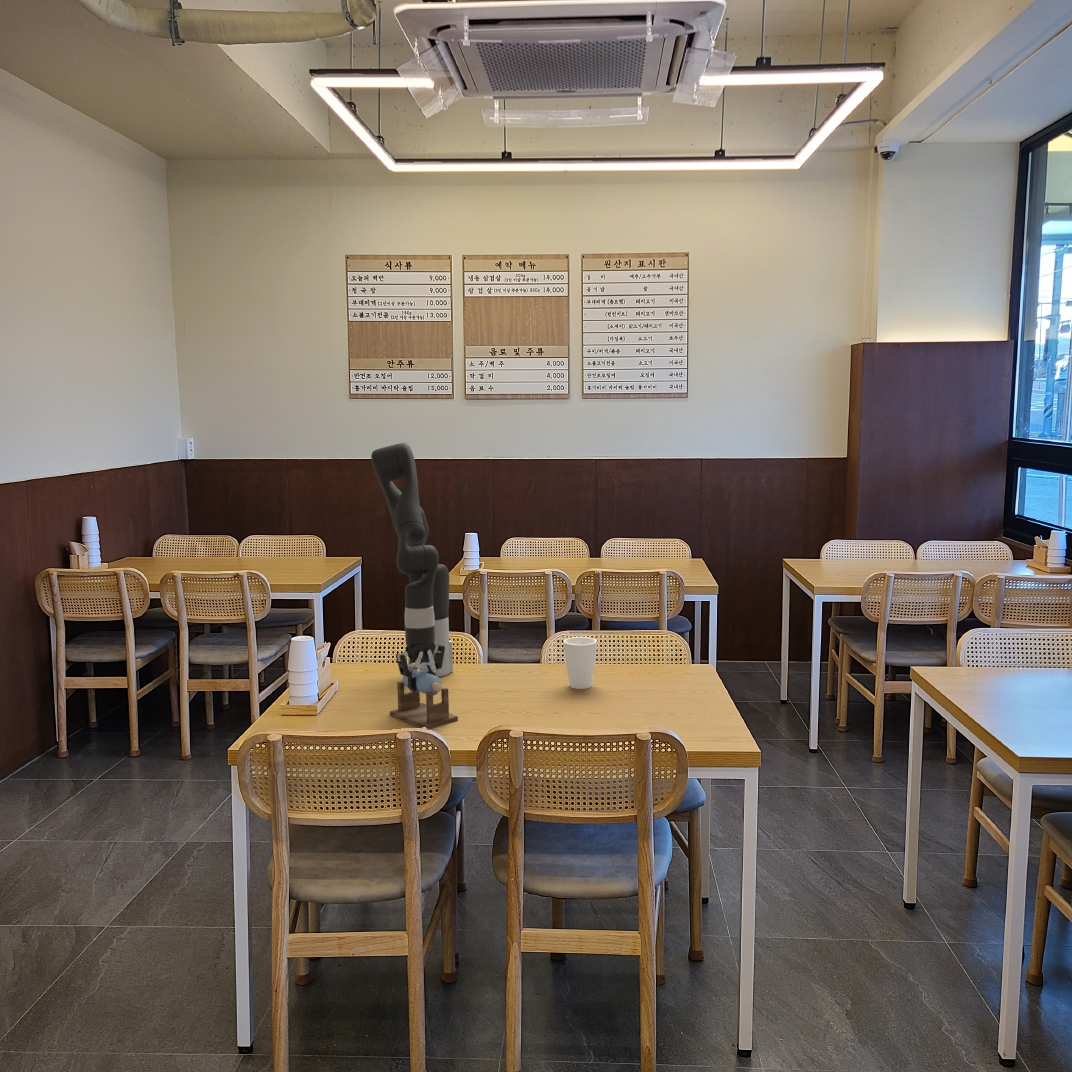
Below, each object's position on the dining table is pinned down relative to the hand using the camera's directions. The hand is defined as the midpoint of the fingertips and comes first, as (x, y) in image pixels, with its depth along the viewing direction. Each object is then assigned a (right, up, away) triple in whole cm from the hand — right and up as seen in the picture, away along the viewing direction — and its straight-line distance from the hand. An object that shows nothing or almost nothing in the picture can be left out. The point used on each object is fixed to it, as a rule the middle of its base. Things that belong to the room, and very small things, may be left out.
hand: (422, 688), depth 239 cm
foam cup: (+42, -4, +26) cm, 50 cm away
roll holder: (0, -8, +1) cm, 8 cm away
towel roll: (0, -1, 0) cm, 1 cm away
